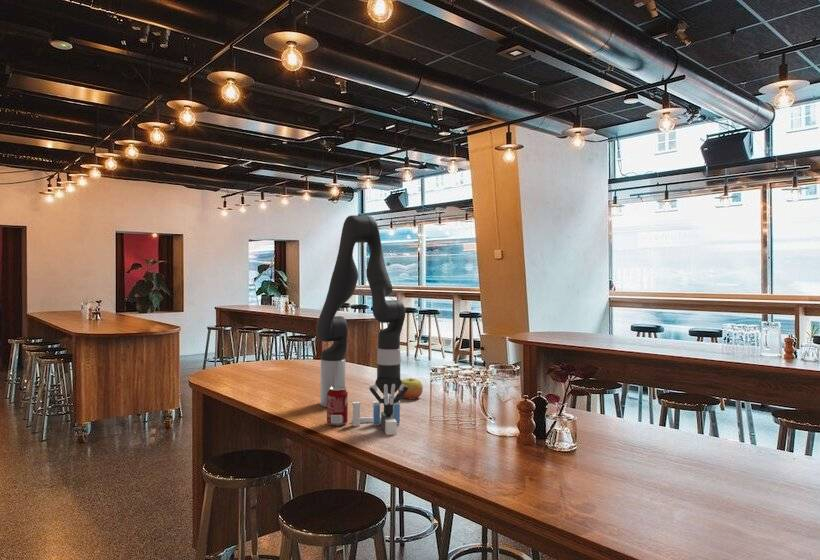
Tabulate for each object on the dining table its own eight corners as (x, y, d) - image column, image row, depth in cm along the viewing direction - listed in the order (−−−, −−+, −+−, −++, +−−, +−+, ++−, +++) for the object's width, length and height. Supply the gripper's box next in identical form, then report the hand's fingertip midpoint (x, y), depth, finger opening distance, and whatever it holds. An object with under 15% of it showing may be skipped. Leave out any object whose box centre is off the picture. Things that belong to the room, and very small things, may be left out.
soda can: (343, 427, 182) (344, 390, 182) (323, 426, 184) (324, 389, 183) (350, 421, 189) (350, 386, 189) (330, 420, 190) (331, 385, 190)
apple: (408, 402, 218) (409, 381, 218) (392, 397, 225) (393, 377, 225) (427, 398, 224) (427, 378, 224) (411, 394, 232) (411, 374, 231)
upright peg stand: (351, 422, 188) (351, 399, 188) (397, 420, 191) (397, 398, 191) (352, 426, 183) (353, 403, 183) (400, 424, 186) (400, 401, 186)
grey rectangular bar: (381, 423, 188) (381, 411, 188) (390, 423, 188) (390, 411, 188) (386, 435, 175) (386, 422, 175) (396, 434, 175) (396, 421, 175)
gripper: (406, 359, 187) (406, 411, 187) (367, 360, 184) (366, 413, 185) (411, 363, 179) (410, 417, 180) (369, 364, 177) (369, 419, 177)
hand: (388, 415), depth 182 cm, fingers closed
